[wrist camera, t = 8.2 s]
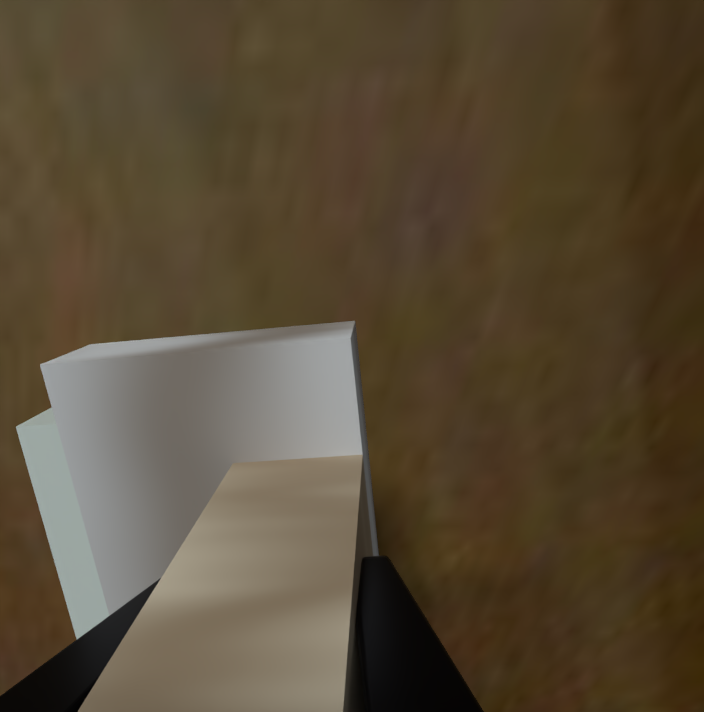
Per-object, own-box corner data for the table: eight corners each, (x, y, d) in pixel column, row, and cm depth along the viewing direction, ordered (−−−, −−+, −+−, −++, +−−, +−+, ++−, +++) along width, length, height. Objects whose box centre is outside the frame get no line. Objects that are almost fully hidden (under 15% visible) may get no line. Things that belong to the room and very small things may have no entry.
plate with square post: (355, 320, 10) (230, 787, 2) (383, 601, 12) (391, 1509, 3) (90, 344, 10) (-1048, 802, 2) (156, 610, 12) (-324, 1428, 4)
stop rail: (114, 392, 18) (63, 423, 15) (211, 817, 23) (187, 901, 20) (74, 395, 18) (16, 426, 15) (180, 817, 23) (151, 900, 21)
